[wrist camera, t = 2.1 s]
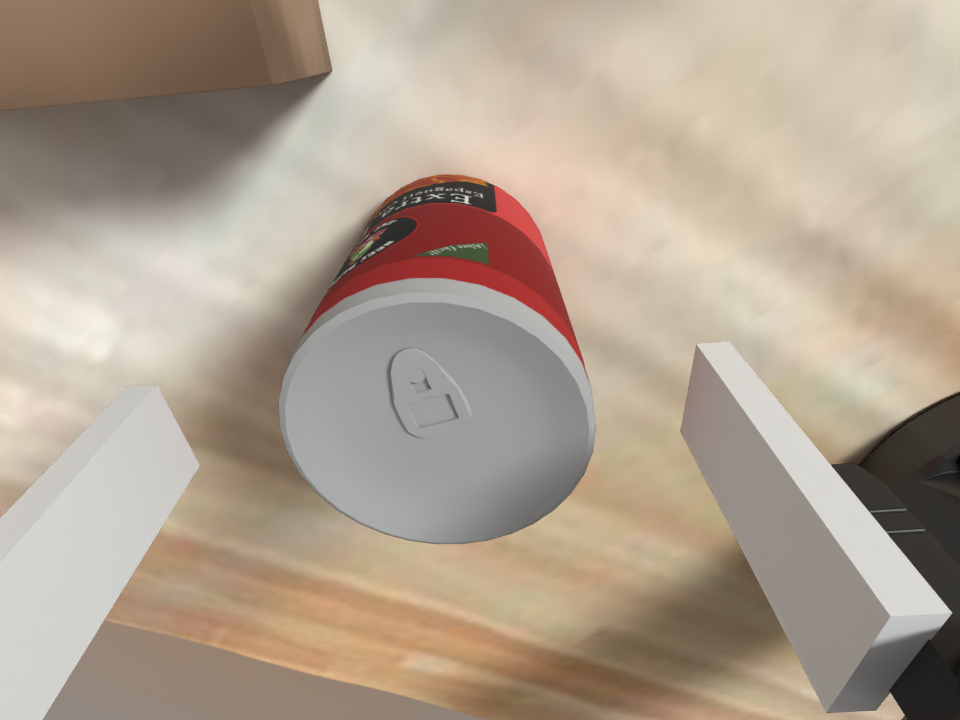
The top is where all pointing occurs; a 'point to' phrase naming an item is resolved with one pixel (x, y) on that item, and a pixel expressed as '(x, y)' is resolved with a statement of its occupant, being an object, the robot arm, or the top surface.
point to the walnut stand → (152, 48)
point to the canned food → (441, 373)
